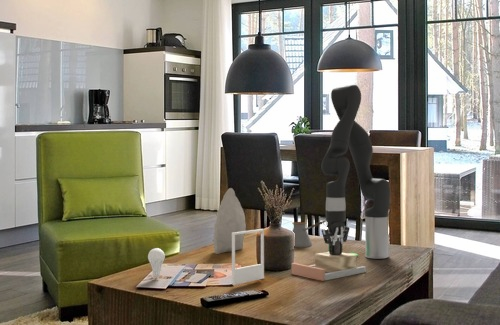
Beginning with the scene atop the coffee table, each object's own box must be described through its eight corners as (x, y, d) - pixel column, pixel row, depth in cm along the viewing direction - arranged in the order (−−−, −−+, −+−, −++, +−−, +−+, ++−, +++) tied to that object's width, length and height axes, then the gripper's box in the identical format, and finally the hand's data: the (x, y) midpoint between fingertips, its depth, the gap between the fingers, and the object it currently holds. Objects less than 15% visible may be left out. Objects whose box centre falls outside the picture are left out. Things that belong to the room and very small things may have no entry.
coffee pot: (281, 250, 282) (281, 218, 281) (298, 247, 290) (298, 216, 289) (317, 256, 266) (317, 221, 266) (333, 252, 274) (333, 219, 274)
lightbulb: (167, 277, 224) (167, 247, 224) (160, 280, 218) (159, 250, 218) (153, 276, 226) (152, 246, 226) (145, 279, 220) (144, 249, 220)
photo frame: (261, 278, 222) (261, 228, 221) (264, 278, 221) (263, 229, 221) (231, 284, 212) (231, 232, 211) (233, 284, 211) (233, 233, 211)
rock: (220, 259, 259) (220, 189, 258) (206, 257, 265) (205, 188, 264) (252, 253, 273) (251, 187, 272) (237, 251, 279) (237, 186, 278)
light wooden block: (333, 266, 240) (333, 238, 240) (356, 270, 231) (356, 241, 231) (315, 269, 234) (315, 240, 234) (338, 274, 225) (338, 244, 224)
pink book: (334, 265, 244) (334, 255, 244) (365, 271, 232) (365, 261, 231) (291, 273, 229) (291, 263, 229) (322, 280, 216) (322, 269, 216)
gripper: (340, 207, 239) (340, 250, 240) (315, 209, 230) (315, 255, 231) (355, 208, 234) (355, 253, 234) (330, 211, 225) (330, 257, 225)
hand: (335, 253), depth 232 cm, fingers closed on light wooden block, 3 cm apart
